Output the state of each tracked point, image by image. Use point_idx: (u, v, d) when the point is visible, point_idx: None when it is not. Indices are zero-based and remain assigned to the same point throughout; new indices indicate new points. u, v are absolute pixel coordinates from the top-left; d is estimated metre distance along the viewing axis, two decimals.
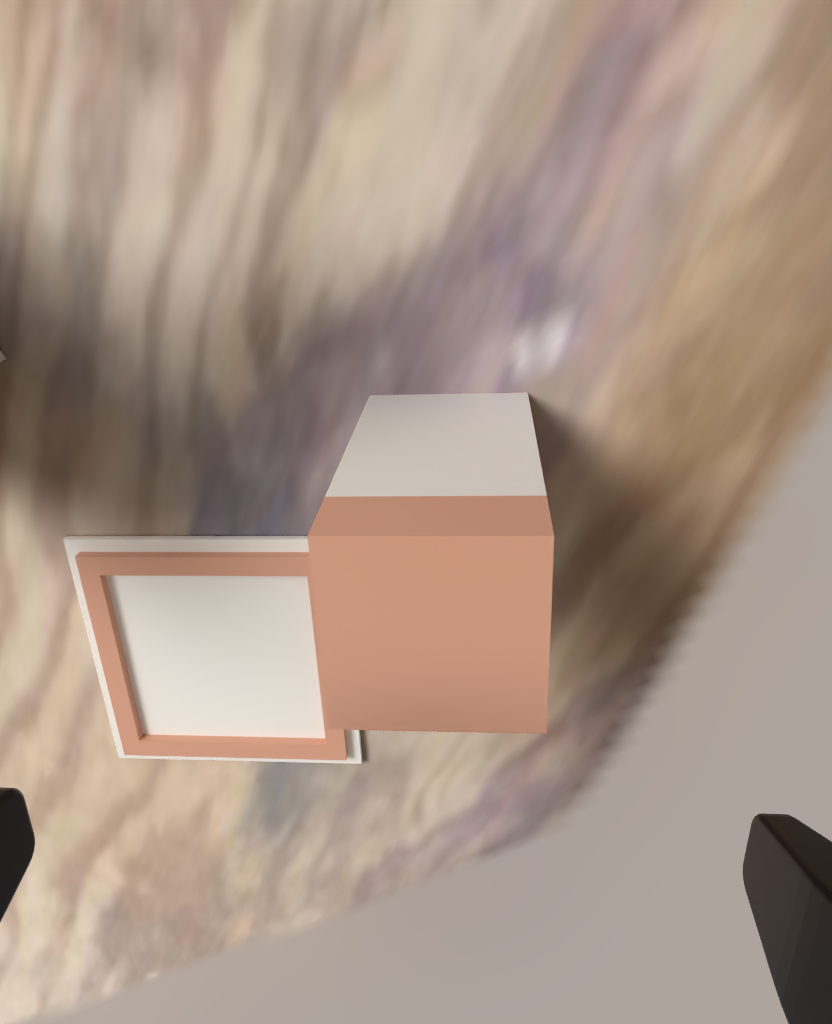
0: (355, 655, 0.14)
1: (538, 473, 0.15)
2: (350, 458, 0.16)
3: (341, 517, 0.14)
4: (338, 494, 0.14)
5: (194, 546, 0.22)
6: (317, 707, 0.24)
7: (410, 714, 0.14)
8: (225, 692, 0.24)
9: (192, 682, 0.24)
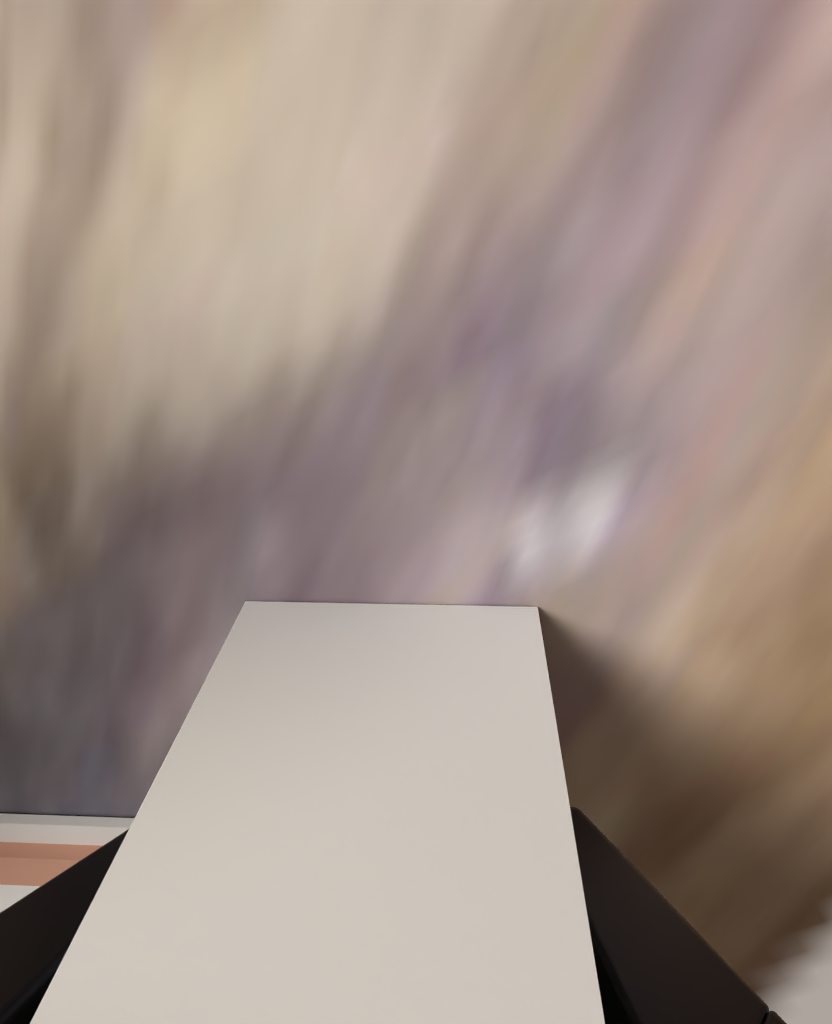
0: None
1: (587, 981, 0.06)
2: (132, 864, 0.07)
3: None
4: None
5: None
6: None
7: None
8: None
9: None
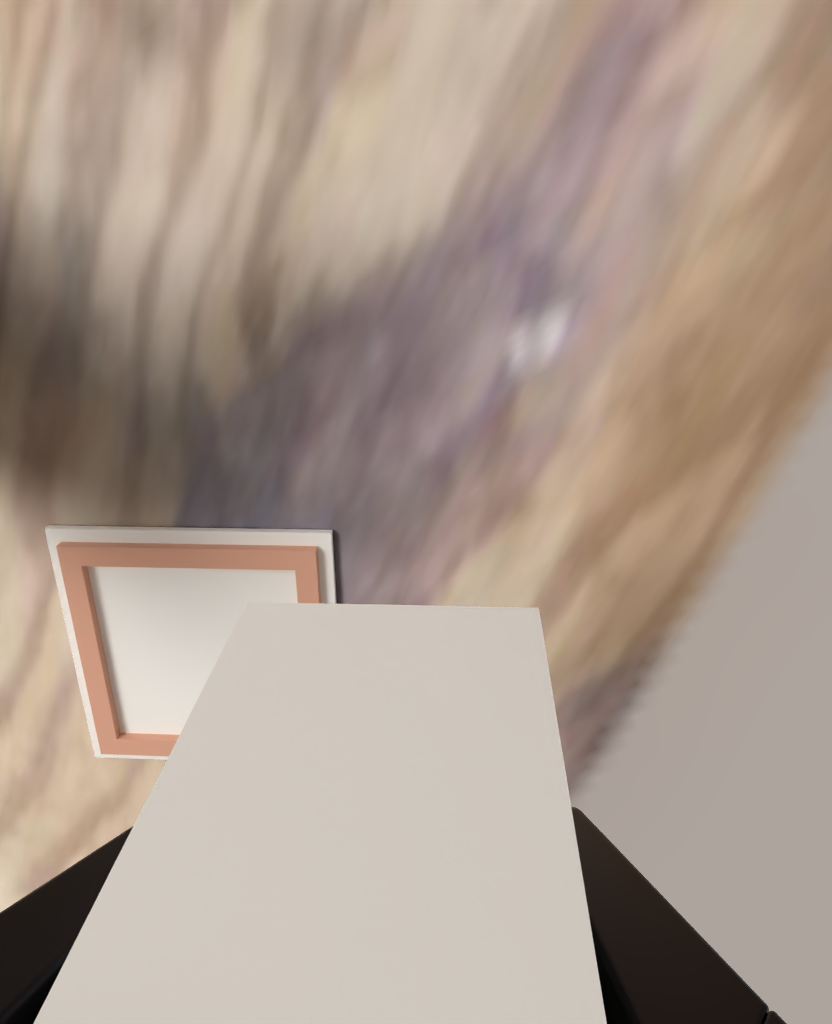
0: None
1: (589, 982, 0.06)
2: (134, 865, 0.07)
3: None
4: None
5: (179, 538, 0.22)
6: None
7: None
8: None
9: (173, 678, 0.24)
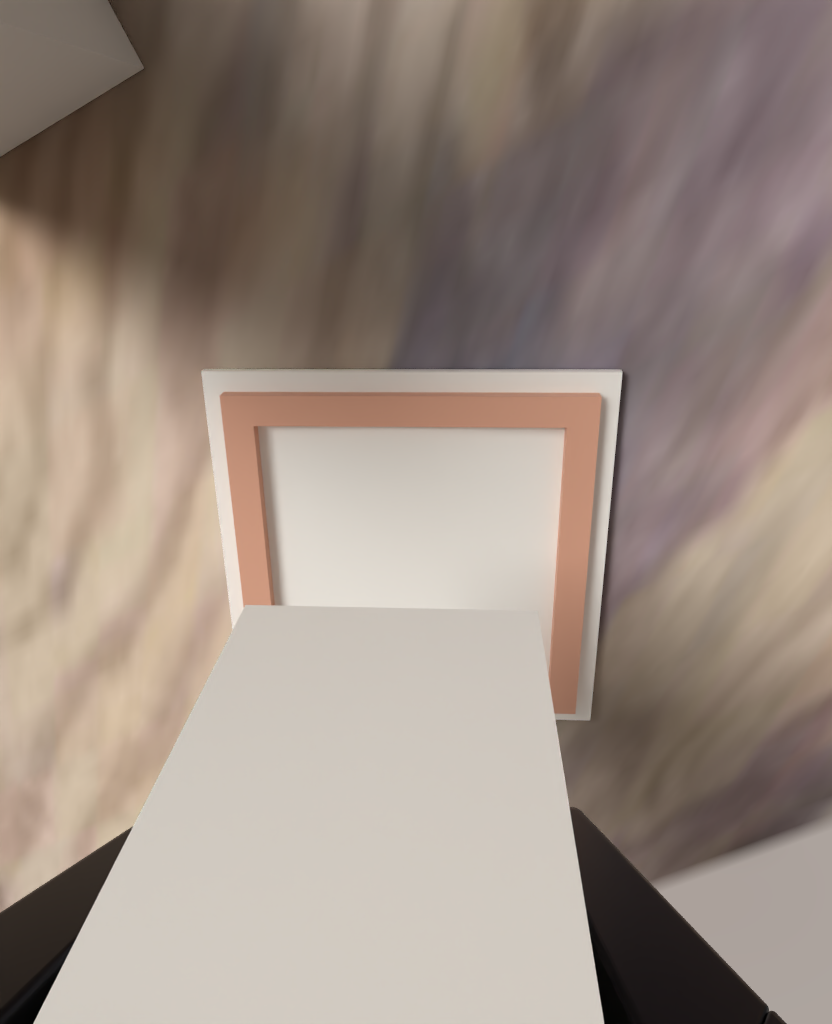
0: None
1: (587, 989, 0.06)
2: (131, 870, 0.07)
3: None
4: None
5: (398, 383, 0.15)
6: None
7: None
8: None
9: (363, 597, 0.17)
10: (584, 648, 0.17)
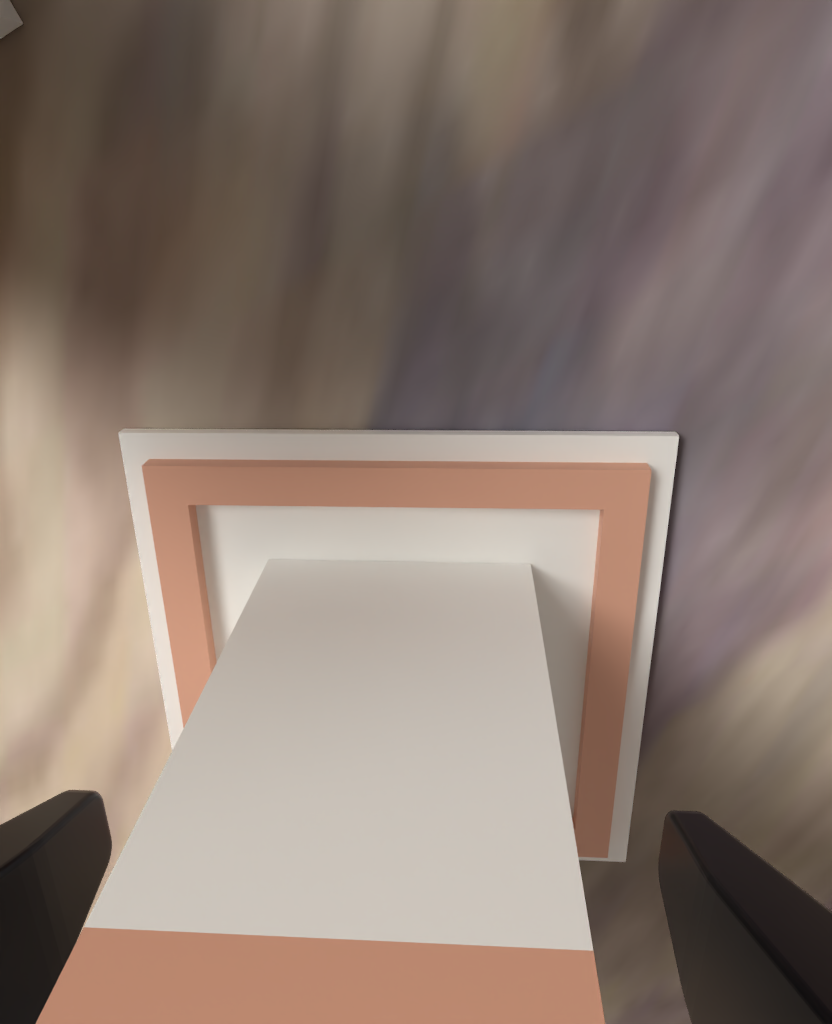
0: None
1: (567, 843, 0.07)
2: (184, 761, 0.08)
3: None
4: (117, 917, 0.06)
5: (379, 449, 0.11)
6: (565, 762, 0.13)
7: None
8: None
9: None
10: (620, 778, 0.13)
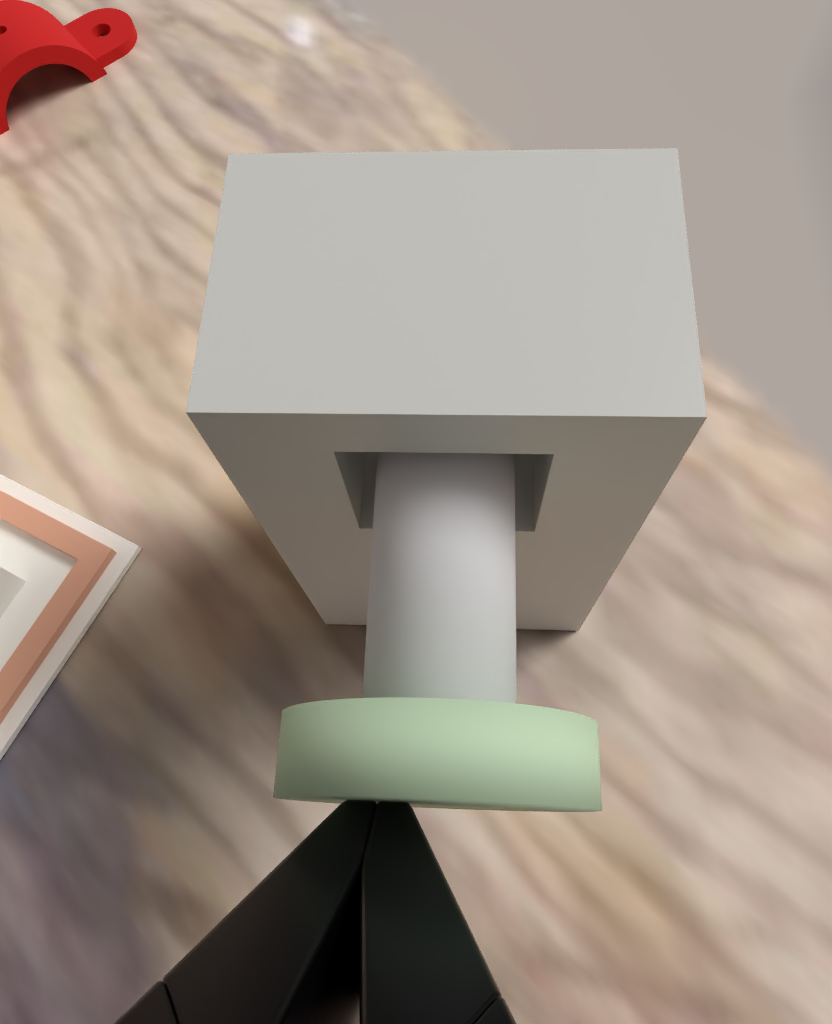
0: None
1: None
2: None
3: None
4: None
5: (39, 678, 0.19)
6: None
7: None
8: None
9: None
10: None
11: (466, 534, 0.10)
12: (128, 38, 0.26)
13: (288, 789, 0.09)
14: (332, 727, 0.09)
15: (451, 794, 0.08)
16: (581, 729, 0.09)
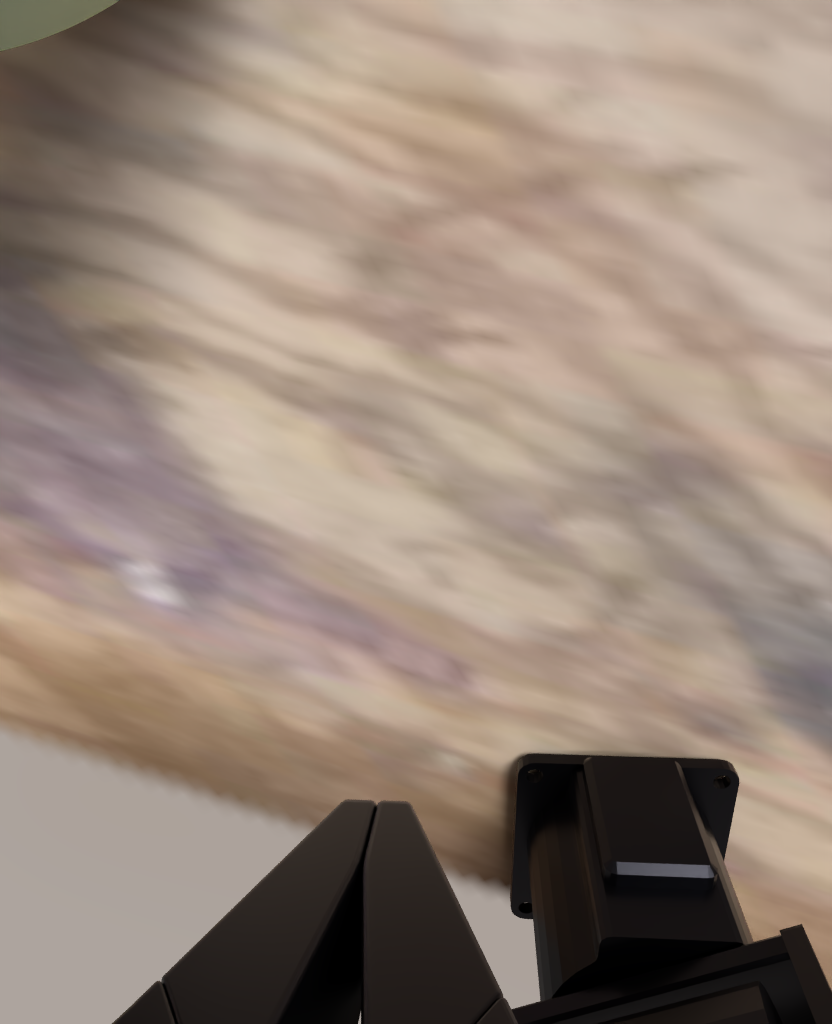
0: None
1: None
2: None
3: None
4: None
5: None
6: None
7: None
8: None
9: None
10: None
11: None
12: None
13: None
14: None
15: None
16: None
